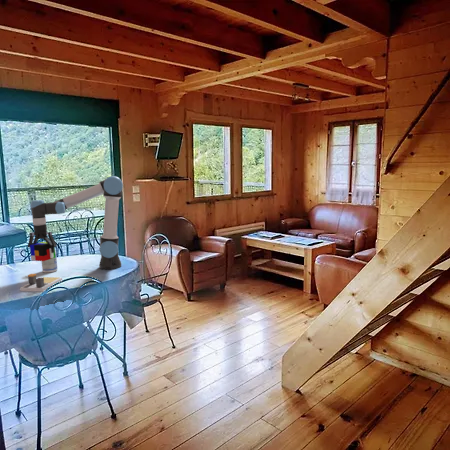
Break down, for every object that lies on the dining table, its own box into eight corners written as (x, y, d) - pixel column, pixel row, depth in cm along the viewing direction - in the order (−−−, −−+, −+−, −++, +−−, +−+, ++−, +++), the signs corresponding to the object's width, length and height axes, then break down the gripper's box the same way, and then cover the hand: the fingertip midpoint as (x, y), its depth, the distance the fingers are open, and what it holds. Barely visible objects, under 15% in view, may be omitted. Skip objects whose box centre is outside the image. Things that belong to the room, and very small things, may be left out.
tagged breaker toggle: (36, 282, 230) (36, 273, 230) (33, 283, 227) (32, 275, 226) (31, 282, 231) (31, 273, 230) (28, 283, 228) (27, 275, 227)
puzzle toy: (31, 260, 245) (29, 245, 244) (43, 256, 255) (42, 241, 253) (43, 261, 242) (41, 245, 240) (55, 257, 251) (53, 242, 250)
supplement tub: (58, 271, 264) (57, 250, 262) (43, 273, 259) (41, 252, 256) (56, 268, 272) (54, 248, 270) (41, 270, 267) (39, 250, 264)
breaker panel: (62, 280, 241) (61, 277, 241) (43, 291, 221) (42, 287, 220) (41, 280, 243) (40, 277, 242) (20, 291, 222) (19, 287, 222)
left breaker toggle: (44, 285, 224) (43, 277, 224) (41, 286, 221) (40, 279, 221) (39, 285, 225) (38, 277, 224) (36, 286, 222) (35, 279, 221)
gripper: (60, 223, 247) (63, 256, 250) (26, 223, 250) (30, 256, 253) (53, 224, 240) (57, 259, 243) (18, 225, 242) (23, 259, 246)
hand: (43, 257), depth 248 cm, fingers closed on puzzle toy, 11 cm apart
